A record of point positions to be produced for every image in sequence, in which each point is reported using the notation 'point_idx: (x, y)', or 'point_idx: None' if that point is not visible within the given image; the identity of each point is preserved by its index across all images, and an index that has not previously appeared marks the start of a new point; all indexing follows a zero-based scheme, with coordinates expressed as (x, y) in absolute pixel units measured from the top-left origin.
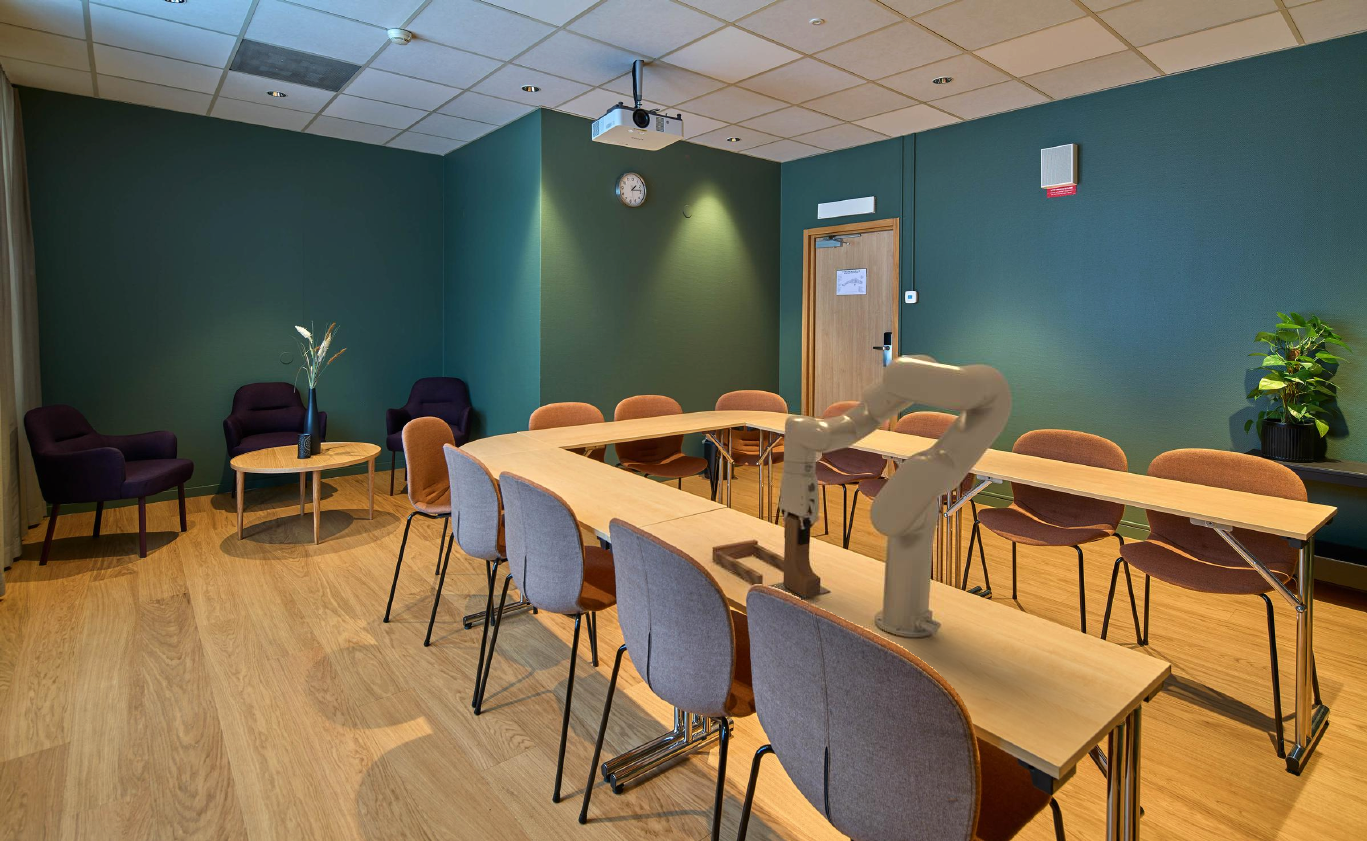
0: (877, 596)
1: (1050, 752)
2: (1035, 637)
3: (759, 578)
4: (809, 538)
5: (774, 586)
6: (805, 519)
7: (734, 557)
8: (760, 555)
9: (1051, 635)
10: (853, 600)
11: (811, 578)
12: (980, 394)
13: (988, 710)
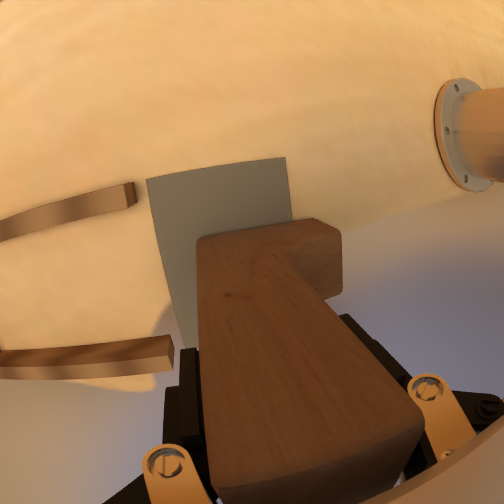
0: (350, 55)
1: None
2: (499, 21)
3: (171, 359)
4: (359, 329)
5: (190, 311)
6: (410, 454)
7: None
8: None
9: (495, 4)
10: (354, 131)
11: (337, 270)
12: None
13: None
